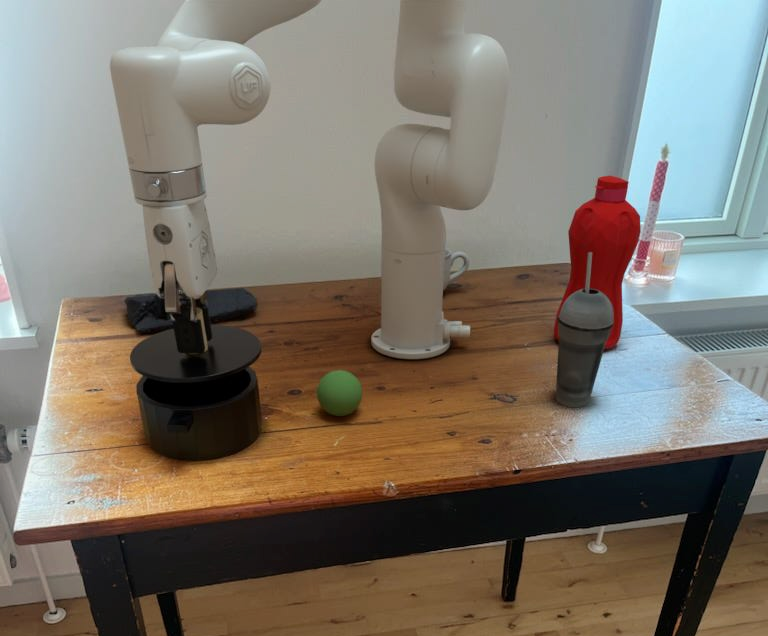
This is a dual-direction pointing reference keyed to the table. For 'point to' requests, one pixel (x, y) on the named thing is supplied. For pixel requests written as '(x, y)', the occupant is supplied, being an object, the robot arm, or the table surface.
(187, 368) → the lid
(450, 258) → the teacup
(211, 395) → the pan
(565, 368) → the beverage cup
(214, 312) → the dark slate chunk
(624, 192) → the water bottle
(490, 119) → the robot arm
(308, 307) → the table surface
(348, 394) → the ball
